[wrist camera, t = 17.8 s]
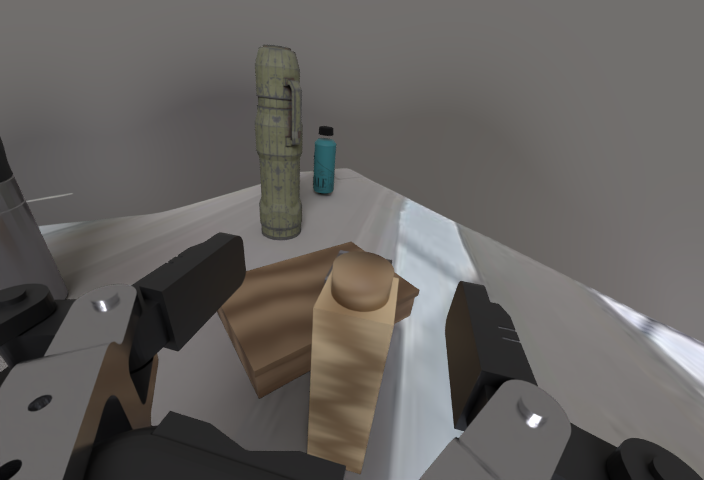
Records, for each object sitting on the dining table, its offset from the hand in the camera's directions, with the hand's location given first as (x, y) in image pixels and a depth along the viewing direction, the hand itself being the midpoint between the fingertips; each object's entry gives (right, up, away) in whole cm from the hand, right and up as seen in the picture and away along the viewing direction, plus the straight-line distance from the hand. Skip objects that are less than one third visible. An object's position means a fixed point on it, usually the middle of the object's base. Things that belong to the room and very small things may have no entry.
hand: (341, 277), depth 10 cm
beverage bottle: (-9, +15, +79) cm, 80 cm away
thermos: (-16, +3, +54) cm, 57 cm away
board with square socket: (-5, -10, +32) cm, 34 cm away
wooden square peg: (-1, -18, +17) cm, 25 cm away
